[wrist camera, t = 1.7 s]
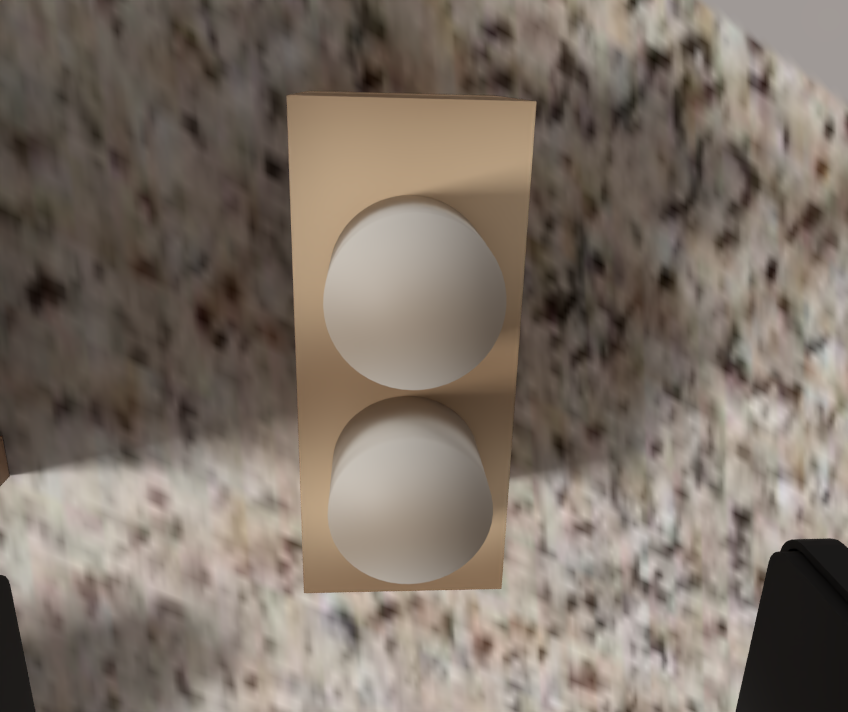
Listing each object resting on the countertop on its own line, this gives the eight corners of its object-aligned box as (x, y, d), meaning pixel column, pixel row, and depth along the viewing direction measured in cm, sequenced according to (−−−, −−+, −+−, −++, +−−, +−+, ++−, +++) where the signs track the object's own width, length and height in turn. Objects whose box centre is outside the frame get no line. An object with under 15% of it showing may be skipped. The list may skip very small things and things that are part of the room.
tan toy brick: (307, 90, 22) (272, 97, 14) (494, 95, 22) (563, 105, 14) (317, 483, 27) (295, 657, 19) (474, 482, 27) (517, 651, 19)
